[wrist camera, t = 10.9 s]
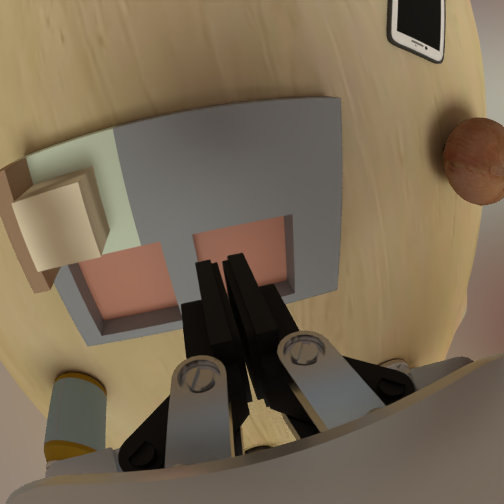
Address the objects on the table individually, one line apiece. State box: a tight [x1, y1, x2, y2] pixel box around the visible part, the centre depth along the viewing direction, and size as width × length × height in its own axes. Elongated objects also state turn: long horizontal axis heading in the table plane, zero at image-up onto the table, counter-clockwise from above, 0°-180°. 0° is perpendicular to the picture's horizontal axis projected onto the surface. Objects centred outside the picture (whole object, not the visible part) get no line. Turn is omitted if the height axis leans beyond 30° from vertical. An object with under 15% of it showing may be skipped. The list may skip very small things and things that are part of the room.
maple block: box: [12, 166, 110, 272], centre depth 18 cm, size 5×5×4 cm
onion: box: [442, 118, 504, 205], centre depth 24 cm, size 10×9×10 cm
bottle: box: [44, 372, 107, 478], centre depth 25 cm, size 7×7×15 cm
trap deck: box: [0, 96, 342, 346], centre depth 23 cm, size 25×18×6 cm
